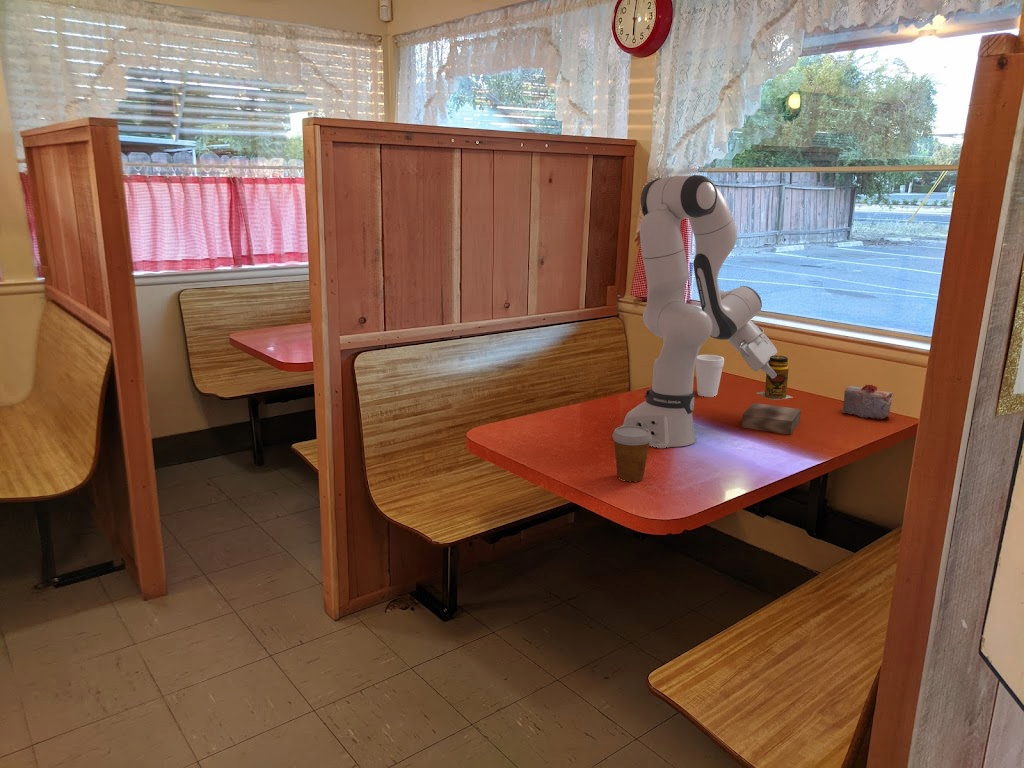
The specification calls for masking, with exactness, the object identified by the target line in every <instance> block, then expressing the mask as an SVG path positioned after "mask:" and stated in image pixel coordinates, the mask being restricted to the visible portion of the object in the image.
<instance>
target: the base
mask: <svg viewBox="0 0 1024 768" xmlns="http://www.w3.org/2000/svg"><path fill="white" fill-rule="evenodd" d="M801 412H802V409H801V408H793V407H787V406H779V405H772V404H764V403H759V402H758V403H756V402H753V403H752V404H751V405H750V406H749V407H747V409H746V410H745V411H744V412H743V413H742V417H741V419H742V420H741V428H744V429H751V430H756V431H757V430H758V431H764V432H770V433H776V434H785V435H790V436H791V435H792V434H793V433H794V431H795V429H796V428H797V427H798V426H799V424H800V422H801Z"/></svg>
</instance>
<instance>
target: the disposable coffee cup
mask: <svg viewBox="0 0 1024 768" xmlns="http://www.w3.org/2000/svg"><path fill="white" fill-rule="evenodd" d="M620 426H621V427H620ZM620 426H617V427H616V428H614V431H613V433H612V435H611V437H612V439H613V443H614V444H613V445H614V453H615V465H616V477H617V476H618V477H617V479H618V478H620V479H622V480H625V481H634V482H633V483H636V482H635V481H639V482H641V481H643V480H644V475H645V471H646V470H645V469H646V465H647V460H648V454H649V447H650V446H649V443H650V441H651V439H652V436H651V434H650V431H649V430H648V429H646V428H643V427H639V426H622V425H620ZM620 479H619V480H620ZM642 479H643V480H642ZM622 480H621V481H622ZM640 480H641V481H640ZM625 481H624V482H625Z"/></svg>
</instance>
